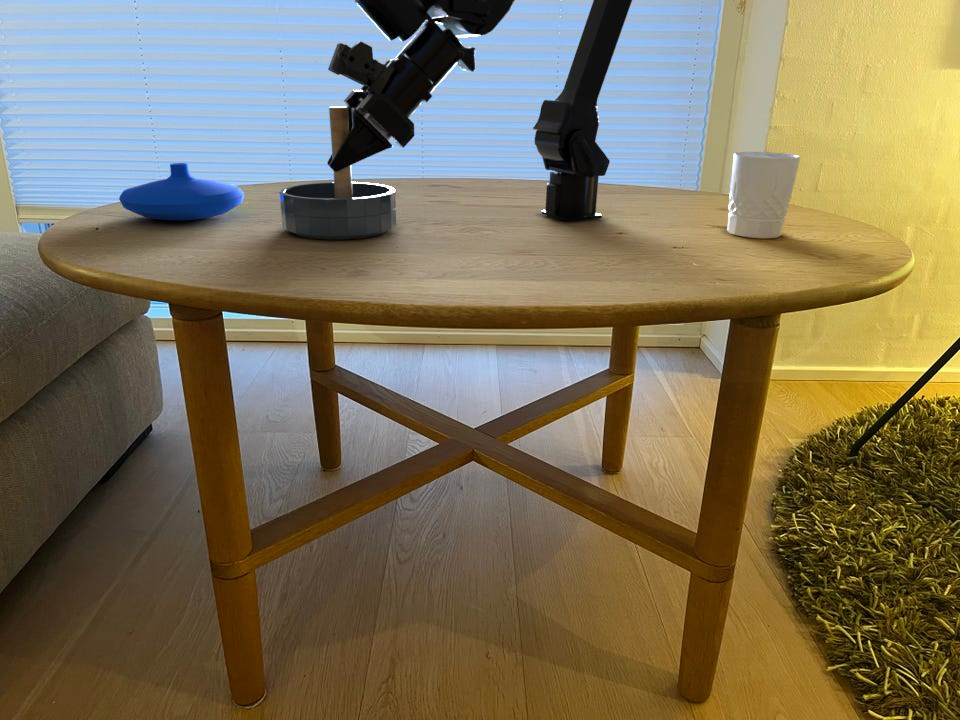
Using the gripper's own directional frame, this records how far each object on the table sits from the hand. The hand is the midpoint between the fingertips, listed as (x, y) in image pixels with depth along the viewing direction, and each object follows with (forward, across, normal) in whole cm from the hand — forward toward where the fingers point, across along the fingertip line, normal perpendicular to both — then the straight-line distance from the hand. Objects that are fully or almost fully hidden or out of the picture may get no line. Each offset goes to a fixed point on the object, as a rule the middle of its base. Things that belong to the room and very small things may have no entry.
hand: (331, 167), depth 85 cm
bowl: (+5, -1, +6) cm, 8 cm away
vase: (+19, -14, -8) cm, 25 cm away
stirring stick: (+4, 0, +6) cm, 7 cm away
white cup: (-32, +13, +44) cm, 55 cm away
